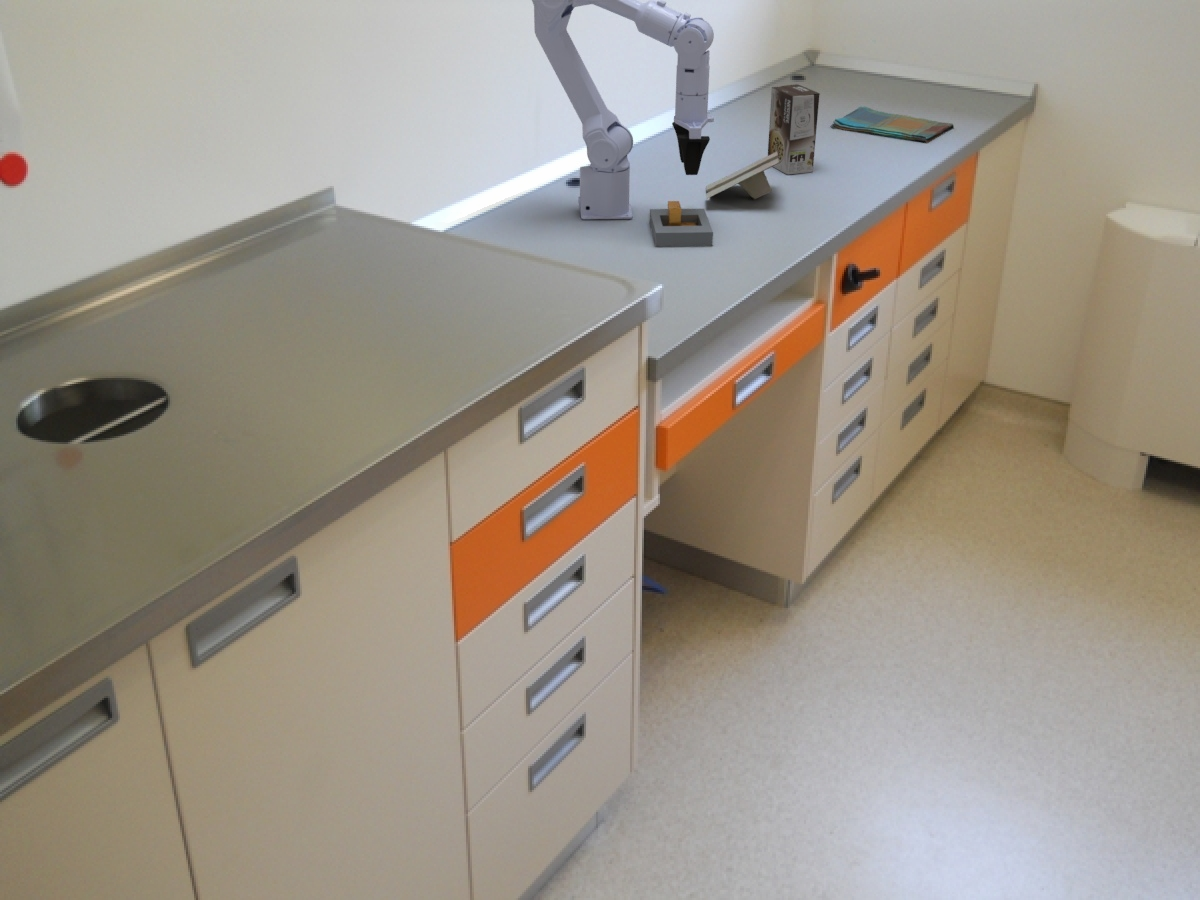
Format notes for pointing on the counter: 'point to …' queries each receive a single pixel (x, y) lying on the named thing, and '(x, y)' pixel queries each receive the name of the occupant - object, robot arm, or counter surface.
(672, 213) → the wooden step block
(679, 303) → the counter surface
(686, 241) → the well block
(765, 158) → the beige footed plank
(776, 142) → the coffee box
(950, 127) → the dish towel
